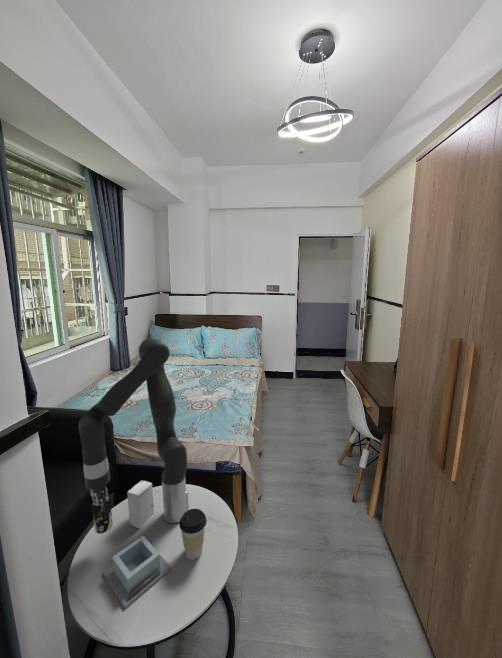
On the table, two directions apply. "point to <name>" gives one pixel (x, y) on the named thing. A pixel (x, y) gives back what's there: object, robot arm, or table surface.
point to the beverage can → (99, 523)
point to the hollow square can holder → (135, 570)
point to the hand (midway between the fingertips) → (102, 512)
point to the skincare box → (140, 503)
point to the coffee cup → (193, 532)
